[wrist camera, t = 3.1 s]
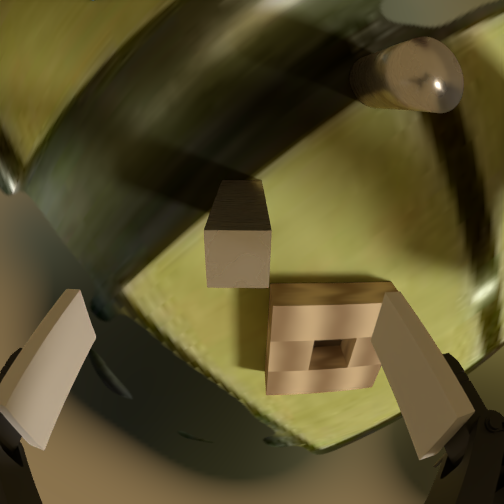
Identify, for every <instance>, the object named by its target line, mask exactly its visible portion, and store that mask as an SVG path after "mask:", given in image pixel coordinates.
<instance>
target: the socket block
mask: <svg viewBox="0 0 504 504" xmlns="http://www.w3.org/2000/svg"><path fill="white" fill-rule="evenodd" d="M385 292H398V290H397V289H396V288H395V286H394V285H393V283H392V282H359V283H270V298H269V315H268V331H267V346H266V361H265V384H266V395H287V394H307V393H321V392H333V391H343V390H352V389H361V388H369V387H372V386H373V384H374V381H375V379H376V377H377V375H378V372H379V370H380V368H381V363H380V361H379V358H378V356H377V354H376V352H375V349H374V347H373V345H372V343H371V341H370V340H371V337H372V334H373V331H374V328H375V325H376V322H377V319H378V315H379V312H380V309H381V305H382V302H383V298H384V295H385ZM340 343H341V344H340Z"/></svg>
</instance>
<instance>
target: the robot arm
mask: <svg viewBox="0 0 504 504" xmlns="http://www.w3.org/2000/svg"><path fill="white" fill-rule="evenodd" d="M95 339H96V335H95V333H94V330H93V327H92V324H91V321H90V318H89V316H88V313H87V310H86V307H85V303H84V300H83V298H82V294H81V291H80V290H76V289H66V291H65V292H64V293H63V294H62V296H61V297H60V298H59V299H58V301H57V302H56V303H55V304H54V306H53V307H52V309H51V310H50V311H49V312H48V314H47V315H46V316H45V318H44V319H43V320H42V322H41V323H40V325H39V326H38V327H37V329H36V330H35V331H34V333H33V334H32V336H31V337H30V338H29V340H28V341H27V343H26V344H25V346H24V347H23V348H19V349H18V350H17V351H16V352H14V353H13V354H12V355H11V356H10V358H9V359H8V361H7V362H6V364H5V366H4V367H3V368H2V370H1V371H0V372H1V373H0V504H42V501H41V499H40V496H39V494H38V491H37V488H36V486H35V483H34V480H33V477H32V474H31V471H30V468H29V465H28V462H27V458H26V455H25V452H24V448H23V446H22V444H21V443H20V439H21V437H23V438H24V439H25V440H26V441H27V442H28V443H29V444H30V445H32V446H34V447H37V448H39V449H42V450H45V447H46V445H47V442H48V440H49V437H50V435H51V432H52V430H53V427H54V425H55V423H56V420H57V418H58V416H59V413H60V411H61V409H62V406H63V404H64V402H65V400H66V398H67V395H68V393H69V391H70V389H71V387H72V384H73V383H74V380H75V378H76V376H77V374H78V372H79V370H80V368H81V366H82V364H83V362H84V360H85V358H86V356H87V354H88V352H89V350H90V348H91V346H92V344H93V342H94V341H95ZM370 341H371V343H372V345H373V347H374V349H375V352H376V354H377V356H378V358H379V361H380V363H381V365H382V367H383V370H384V372H385V374H386V377H387V379H388V381H389V384H390V386H391V388H392V391H393V393H394V396H395V398H396V400H397V403H398V405H399V408H400V410H401V413H402V415H403V418H404V420H405V423H406V426H407V428H408V431H409V433H410V436H411V439H412V441H413V444H414V447H415V449H416V452H417V455H418V458H419V460H421V459H424V458H427V457H430V456H433V455H436V454H437V453H438V452H439V451H440V450H441V449H442V448H443V447H445V449H446V453H445V454H444V455H443V456H442V457H441V458H440V459H439V460H438V461H437V462H436V463H435V465H434V467H437V466H438V465H439V464H440V463H441V465H440V467H439V470H438V472H437V475H436V478H435V480H434V483H433V485H432V487H431V490H430V492H429V494H428V497H427V499H426V501H425V503H424V504H504V417H503V416H502V415H501V414H500V413H498V412H496V411H494V410H487V409H486V407H485V405H484V403H483V402H482V400H481V398H480V396H479V395H478V393H477V391H476V389H475V388H474V386H473V384H472V383H471V381H469V378H468V376H467V375H466V373H464V370H463V368H462V366H461V365H460V363H459V362H458V361H457V360H456V359H455V358H454V357H453V356H452V355H450V354H449V353H447V354H442V353H441V352H440V350H439V348H438V347H437V345H436V344H435V342H434V341H433V339H432V337H431V336H430V334H429V333H428V331H427V330H426V328H425V327H424V325H423V324H422V322H421V321H420V319H419V318H418V316H417V315H416V314H415V312H414V311H413V309H412V308H411V306H410V305H409V303H408V302H407V301H406V299H405V298H404V296H403V295H402V294H401V292H385V295H384V298H383V302H382V305H381V309H380V312H379V315H378V319H377V322H376V325H375V328H374V331H373V334H372V337H371V340H370Z"/></svg>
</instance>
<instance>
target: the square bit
mask: <svg viewBox="0 0 504 504" xmlns="http://www.w3.org/2000/svg"><path fill="white" fill-rule="evenodd" d="M204 243H205V260H206V276H207V287H216V288H269V273H270V253H271V225H270V220H269V215H268V210H267V204H266V199H265V194H264V189H263V184H262V181H261V180H222V181H221V184H220V187H219V189H218V192H217V195H216V198H215V200H214V203H213V206H212V209H211V211H210V214H209V217H208V220H207V223H206V226H205V228H204Z"/></svg>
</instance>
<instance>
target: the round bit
mask: <svg viewBox="0 0 504 504" xmlns="http://www.w3.org/2000/svg"><path fill="white" fill-rule="evenodd" d="M349 80H350V86H351V89H352V91H353V93H354V94H355V96H356V97H357V98H358V99H359V100H360V101H361V102H362V103H363V104H365V105H367V106H369V107H372V108H379V109H398V110H412V111H424V112H433V113H445V112H448V111H450V110H452V109H454V108H455V107H456V106H457V105H458V103H459V102H460V100H461V98H462V94H463V90H464V79H463V73H462V70H461V67H460V64H459V62H458V60H457V59H456V57H455V55H454V54H453V53H452V52H451V50H450V49H449V48H448V47H447V46H445V45H444V44H443V43H441V42H440V41H438V40H436V39H433V38H430V37H418V38H415V39H412V40H409V41H406V42H403V43H400V44H397V45H394V46H391V47H388V48H386V49H383V50H380V51H378V52H375V53H372V54H370V55H367V56H365V57H362V58H360V59H359V60H357V61H356V62H355V63H354V64H353V66H352V68H351V70H350V76H349Z"/></svg>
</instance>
